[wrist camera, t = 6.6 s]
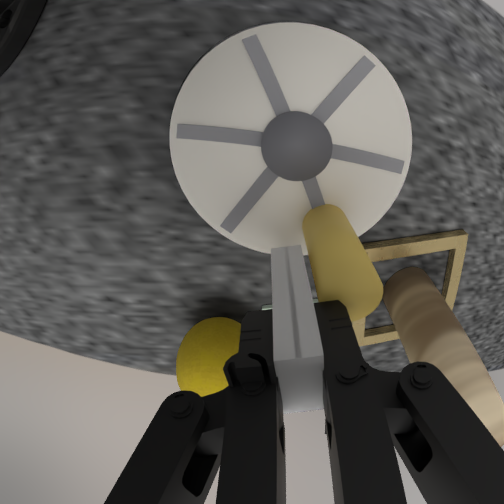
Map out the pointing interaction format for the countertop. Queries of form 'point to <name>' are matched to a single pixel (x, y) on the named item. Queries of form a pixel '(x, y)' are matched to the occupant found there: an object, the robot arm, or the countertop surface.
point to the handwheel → (295, 149)
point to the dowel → (442, 343)
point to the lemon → (207, 355)
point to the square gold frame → (411, 247)
